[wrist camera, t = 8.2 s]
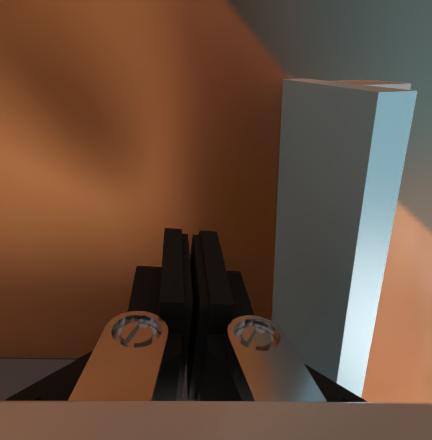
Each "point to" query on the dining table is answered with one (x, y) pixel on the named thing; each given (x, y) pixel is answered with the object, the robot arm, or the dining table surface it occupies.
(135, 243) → the dining table surface
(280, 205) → the side door
